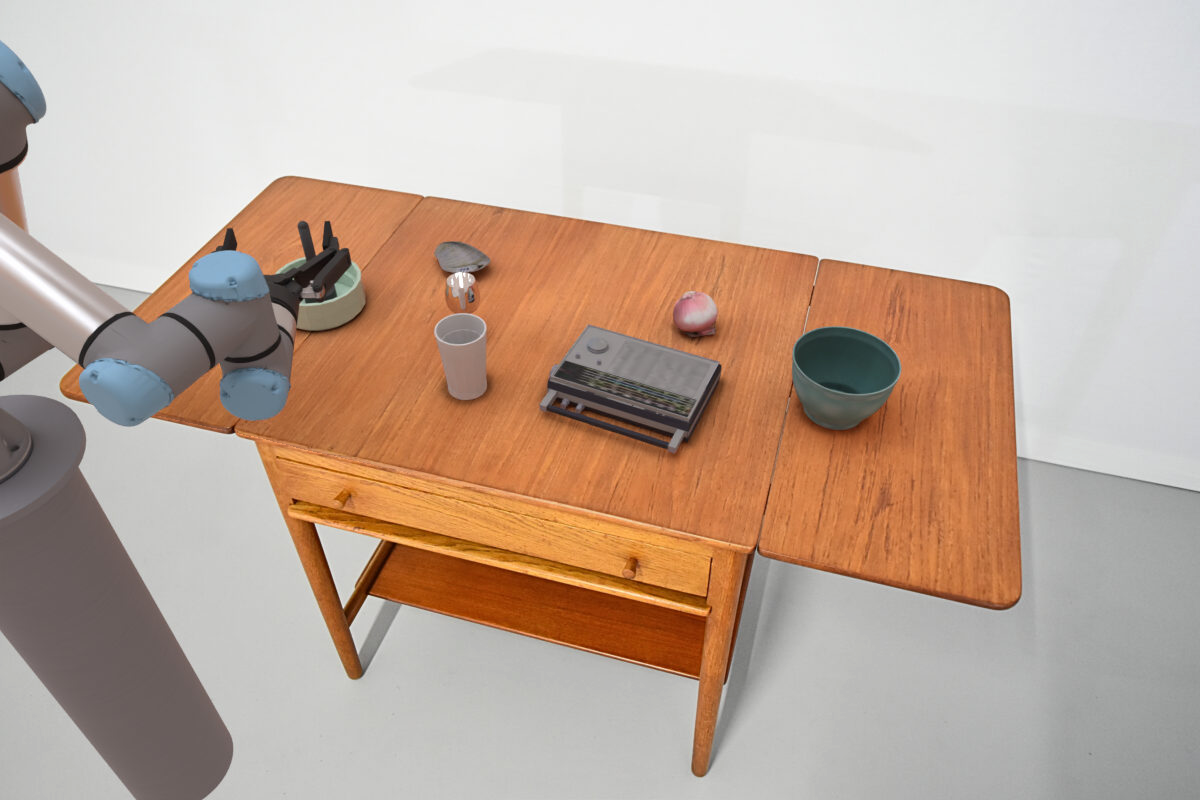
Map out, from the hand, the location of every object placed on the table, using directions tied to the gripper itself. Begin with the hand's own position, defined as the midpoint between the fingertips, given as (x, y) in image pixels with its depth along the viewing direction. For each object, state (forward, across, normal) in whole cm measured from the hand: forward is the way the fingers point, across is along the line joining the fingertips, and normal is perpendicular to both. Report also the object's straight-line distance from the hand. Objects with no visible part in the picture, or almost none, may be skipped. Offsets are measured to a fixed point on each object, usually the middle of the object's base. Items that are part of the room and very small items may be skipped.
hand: (281, 232), depth 130 cm
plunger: (+18, 0, -26) cm, 31 cm away
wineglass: (+5, +25, -27) cm, 37 cm away
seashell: (+26, +25, -27) cm, 45 cm away
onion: (+1, +64, -26) cm, 70 cm away
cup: (-8, +24, -27) cm, 37 cm away
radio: (-14, +50, -26) cm, 58 cm away
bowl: (+18, 0, -27) cm, 32 cm away
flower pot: (-22, +81, -26) cm, 88 cm away
